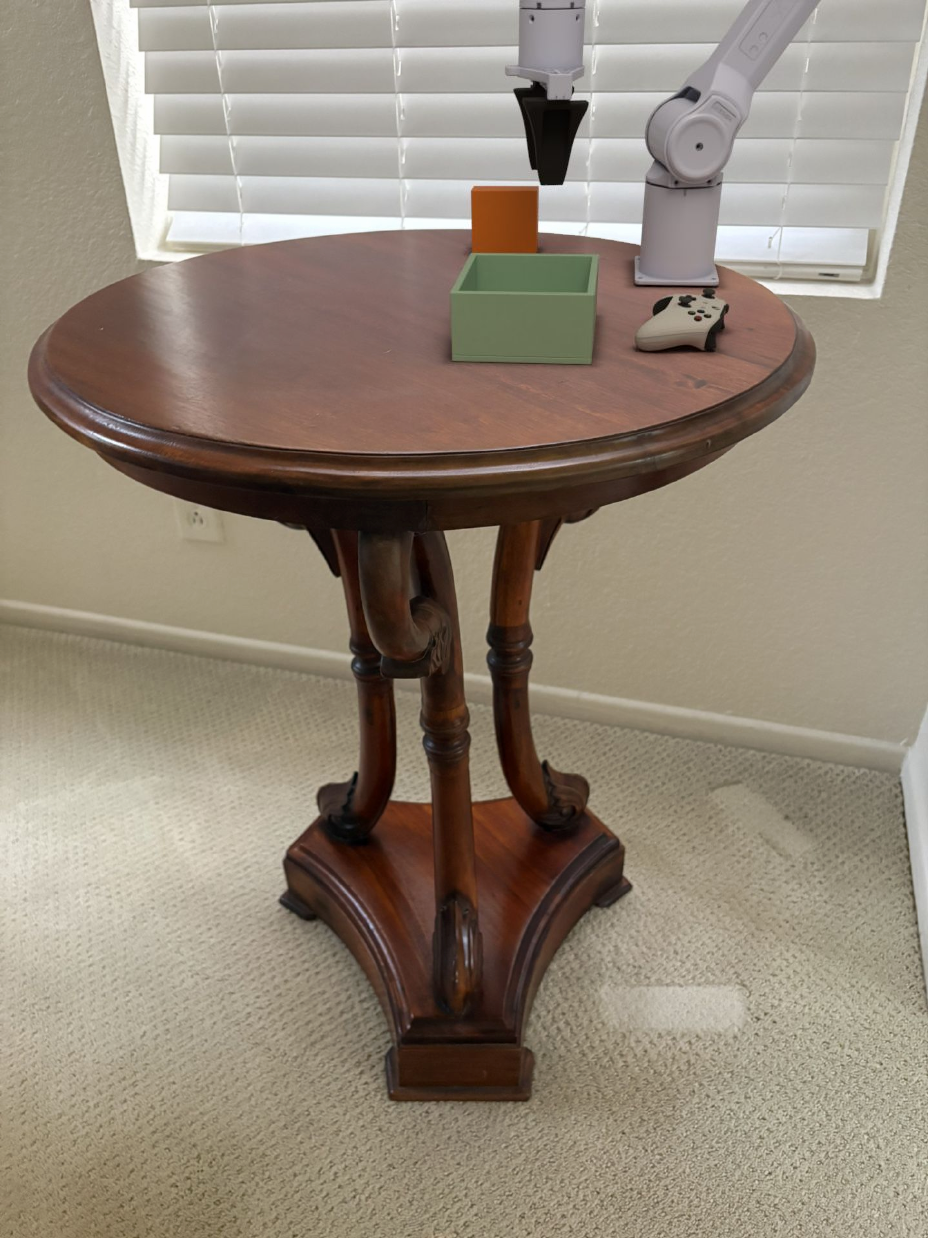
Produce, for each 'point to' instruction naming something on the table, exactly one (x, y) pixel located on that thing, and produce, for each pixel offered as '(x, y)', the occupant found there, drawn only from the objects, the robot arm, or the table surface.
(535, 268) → the bin
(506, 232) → the block
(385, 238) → the table surface
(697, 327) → the game controller
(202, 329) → the table surface
